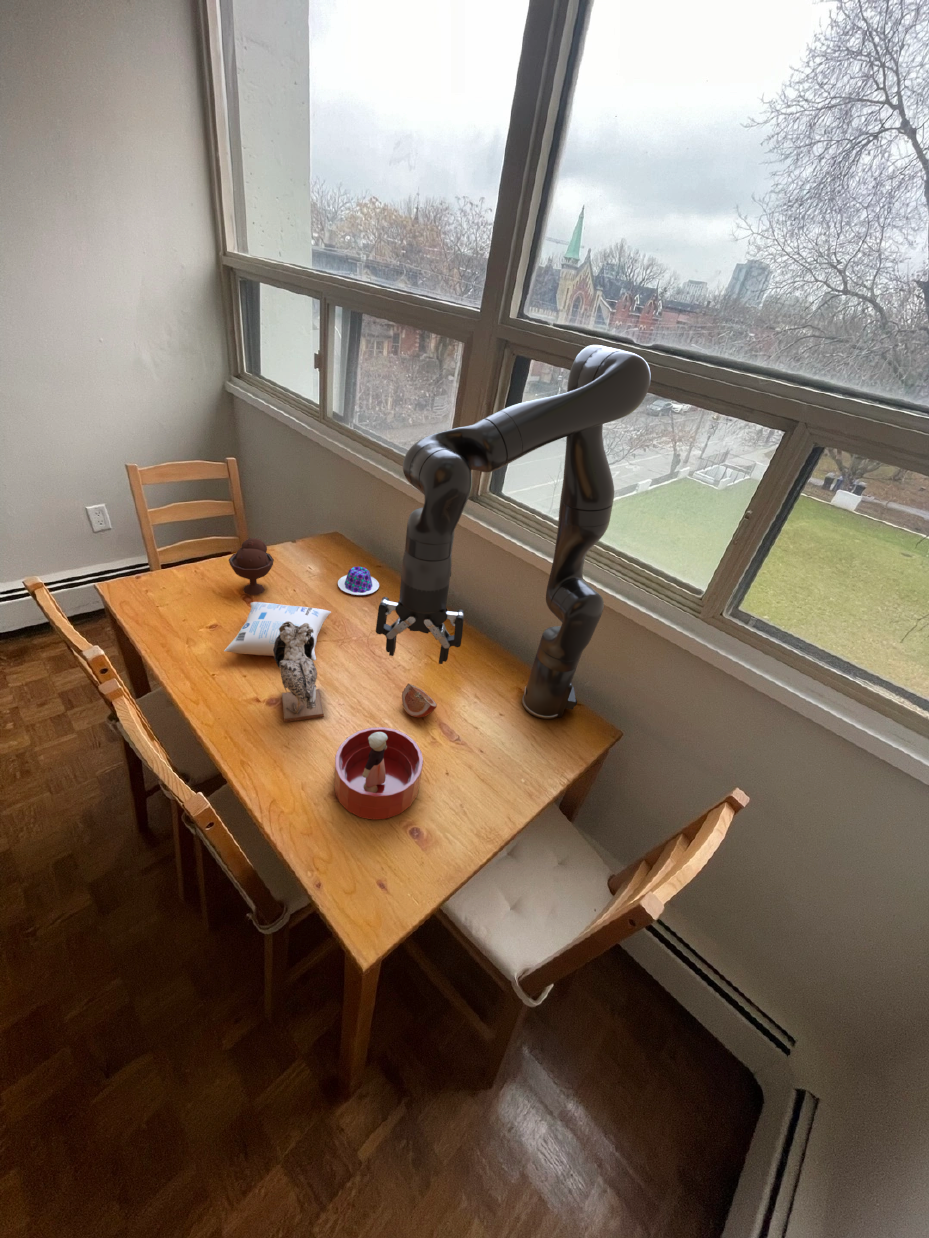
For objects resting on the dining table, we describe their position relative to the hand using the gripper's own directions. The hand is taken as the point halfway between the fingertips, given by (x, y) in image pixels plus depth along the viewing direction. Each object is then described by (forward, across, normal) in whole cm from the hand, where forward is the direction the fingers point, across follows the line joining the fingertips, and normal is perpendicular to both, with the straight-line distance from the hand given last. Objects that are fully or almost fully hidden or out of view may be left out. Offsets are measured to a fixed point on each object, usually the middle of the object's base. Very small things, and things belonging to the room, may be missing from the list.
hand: (416, 657), depth 87 cm
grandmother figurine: (+24, -4, -8) cm, 26 cm away
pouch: (+25, -35, +27) cm, 51 cm away
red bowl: (+25, -4, -8) cm, 26 cm away
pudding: (+25, -25, +59) cm, 69 cm away
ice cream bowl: (+24, -51, +47) cm, 74 cm away
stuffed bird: (+25, -24, +8) cm, 35 cm away
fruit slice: (+25, 0, +12) cm, 28 cm away
